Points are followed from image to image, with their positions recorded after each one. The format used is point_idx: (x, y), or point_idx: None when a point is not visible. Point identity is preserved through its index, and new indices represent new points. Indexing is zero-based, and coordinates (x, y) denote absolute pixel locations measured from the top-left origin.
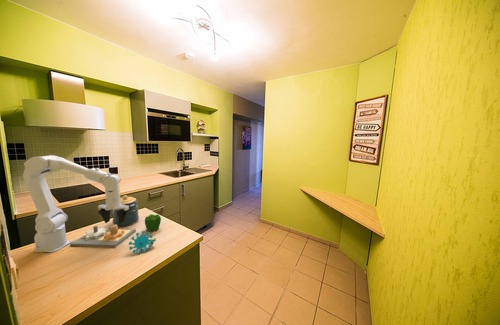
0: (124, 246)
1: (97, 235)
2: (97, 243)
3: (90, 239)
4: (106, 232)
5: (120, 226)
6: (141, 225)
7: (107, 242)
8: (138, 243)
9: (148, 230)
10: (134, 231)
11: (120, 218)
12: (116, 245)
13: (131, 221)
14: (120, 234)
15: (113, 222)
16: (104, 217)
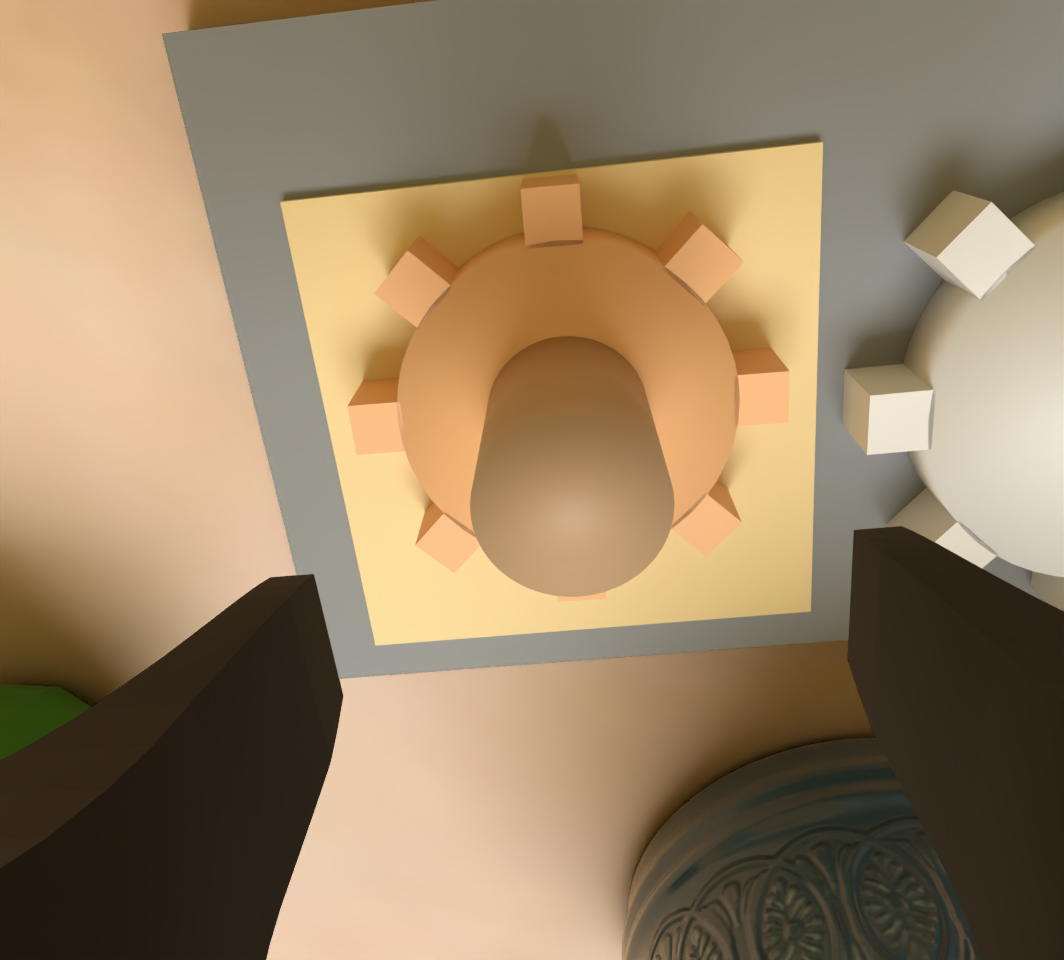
0: (13, 106)
1: (937, 249)
2: (697, 13)
3: (1050, 149)
4: (897, 484)
5: (812, 748)
6: (420, 837)
7: (472, 100)
8: None
9: (33, 690)
10: None
11: (113, 694)
12: (185, 71)
13: (648, 898)
14: (370, 399)
15: None
16: (991, 644)
